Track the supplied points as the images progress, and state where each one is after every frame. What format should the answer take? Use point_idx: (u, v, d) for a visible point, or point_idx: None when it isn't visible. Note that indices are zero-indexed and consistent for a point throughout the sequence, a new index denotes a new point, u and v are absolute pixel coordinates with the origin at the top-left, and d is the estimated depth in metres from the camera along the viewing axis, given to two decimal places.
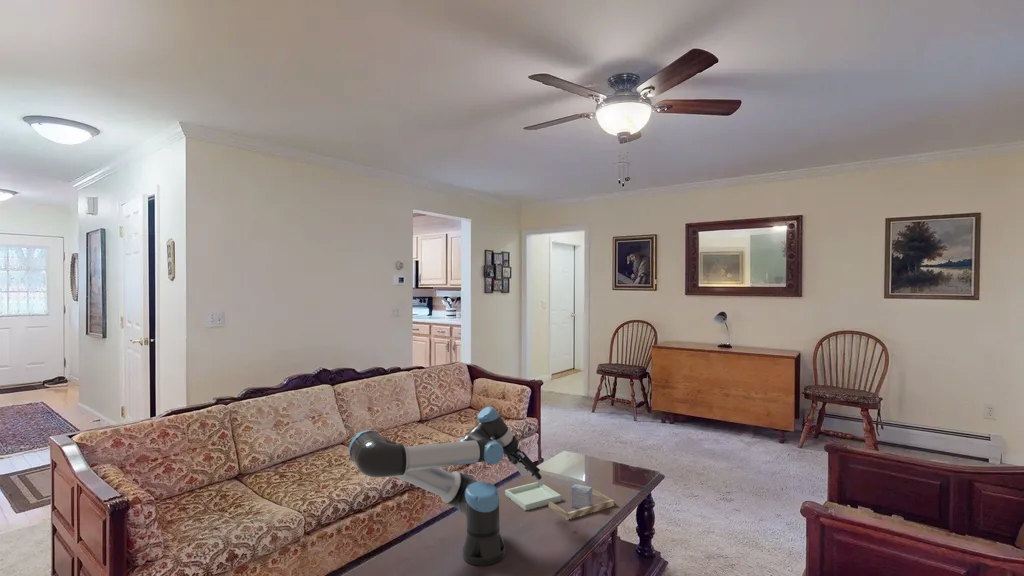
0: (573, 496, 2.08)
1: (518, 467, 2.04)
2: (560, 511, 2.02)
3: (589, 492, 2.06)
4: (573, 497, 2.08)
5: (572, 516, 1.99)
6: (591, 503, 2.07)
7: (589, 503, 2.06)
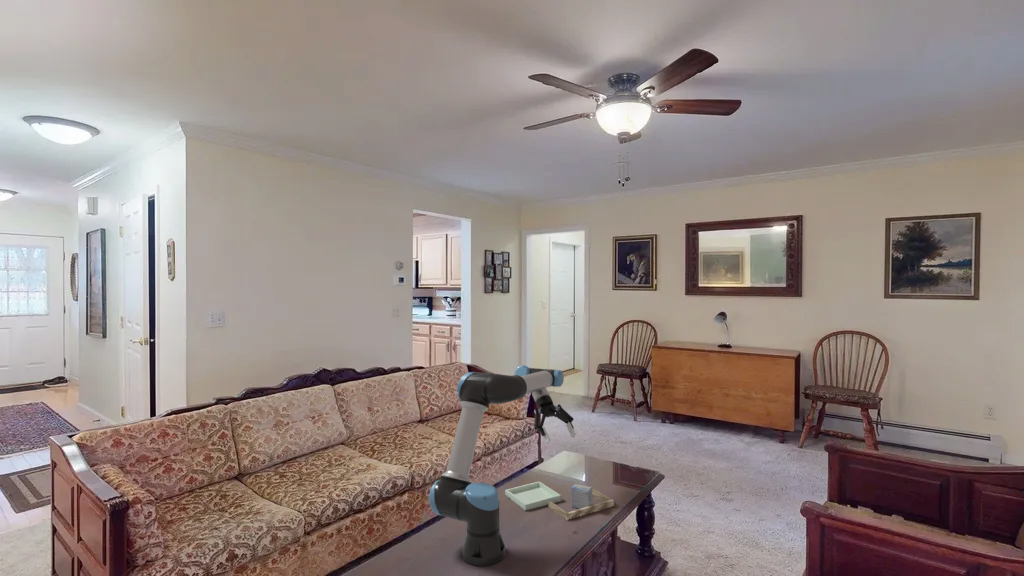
0: (573, 496, 2.08)
1: None
2: (560, 511, 2.02)
3: (589, 492, 2.06)
4: (573, 497, 2.08)
5: (572, 516, 1.99)
6: (591, 503, 2.07)
7: (589, 503, 2.06)
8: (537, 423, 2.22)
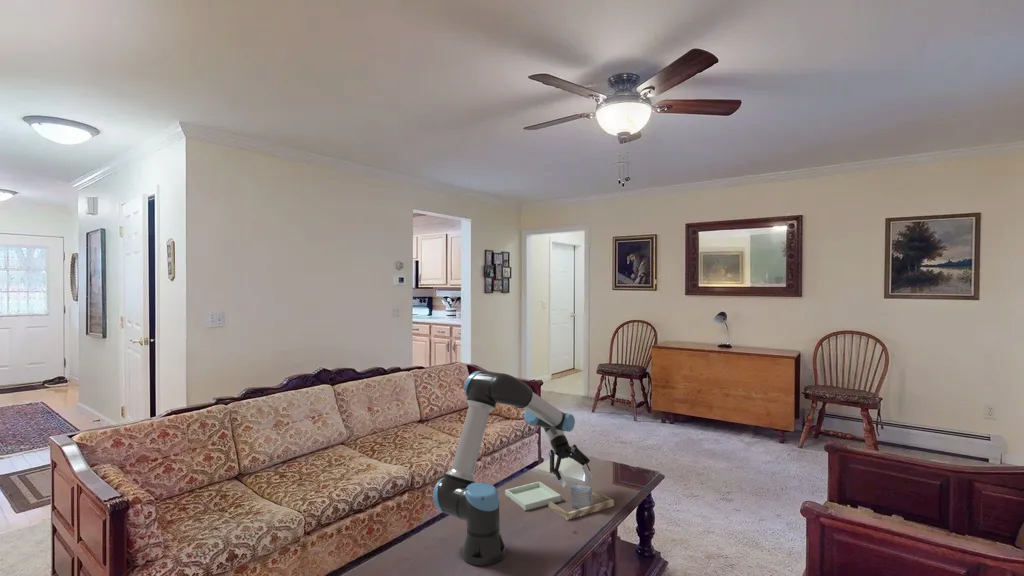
0: (573, 496, 2.08)
1: None
2: (560, 511, 2.02)
3: (589, 492, 2.06)
4: (573, 497, 2.08)
5: (572, 516, 1.99)
6: (591, 503, 2.07)
7: (589, 503, 2.06)
8: (553, 466, 2.13)
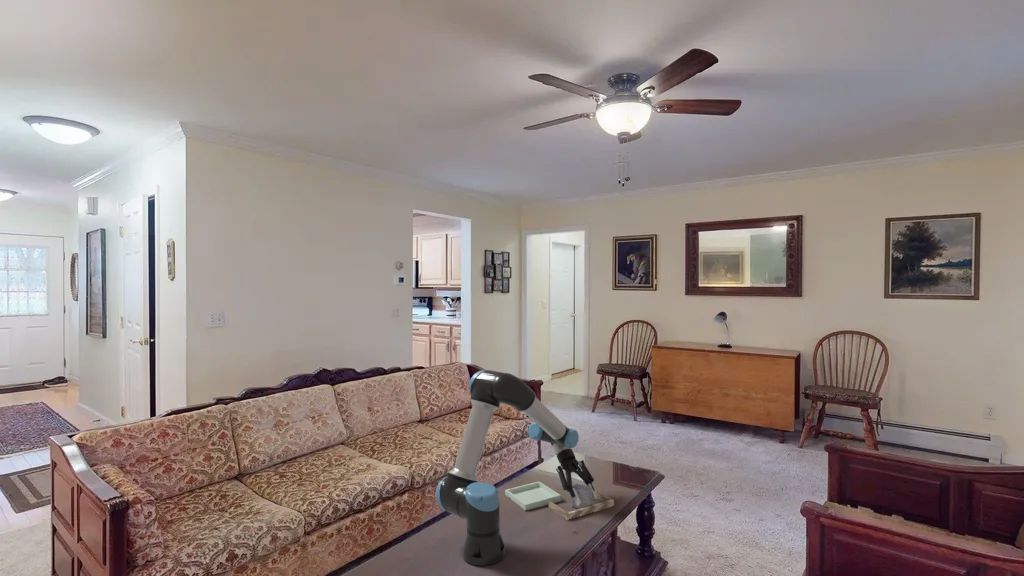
0: None
1: None
2: (560, 511, 2.02)
3: (589, 492, 2.06)
4: None
5: (572, 516, 1.99)
6: (591, 503, 2.07)
7: (589, 503, 2.06)
8: (566, 483, 2.07)
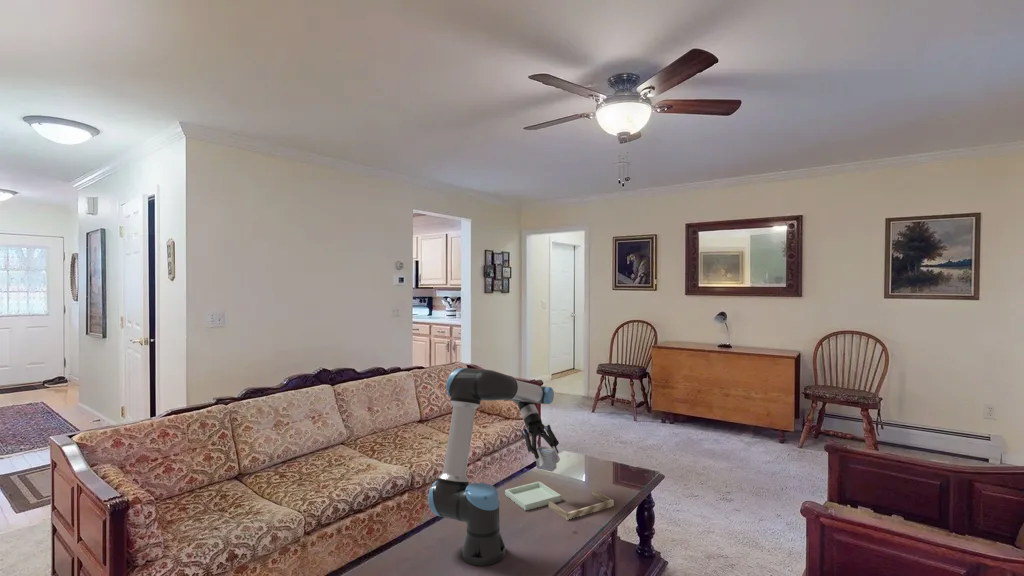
0: None
1: None
2: (560, 511, 2.02)
3: (552, 453, 2.14)
4: None
5: (572, 516, 1.99)
6: (554, 464, 2.15)
7: (552, 464, 2.14)
8: (530, 445, 2.16)
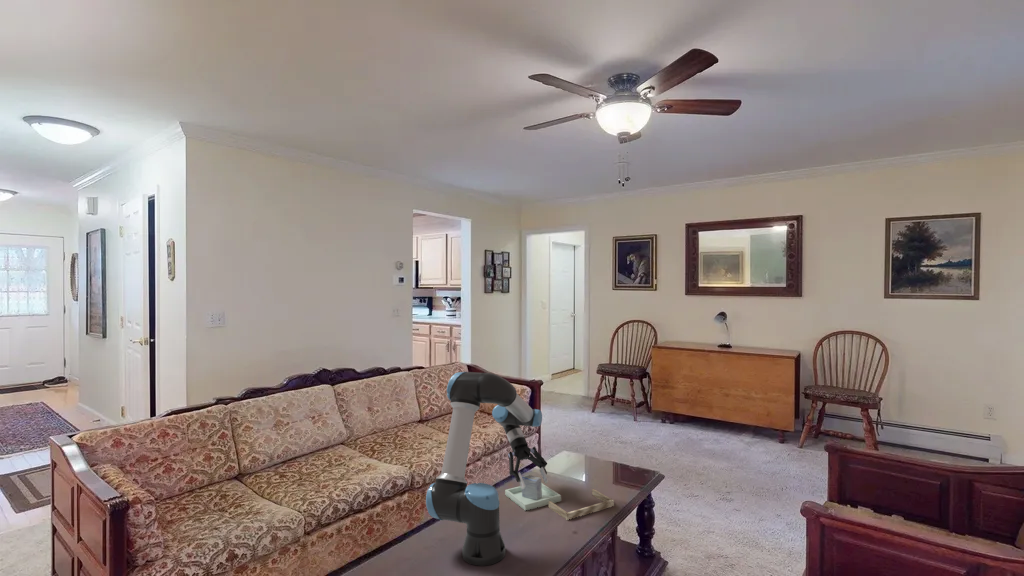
0: None
1: None
2: (560, 511, 2.02)
3: (537, 482, 2.16)
4: None
5: (572, 516, 1.99)
6: (540, 493, 2.17)
7: (537, 493, 2.16)
8: (512, 468, 2.18)
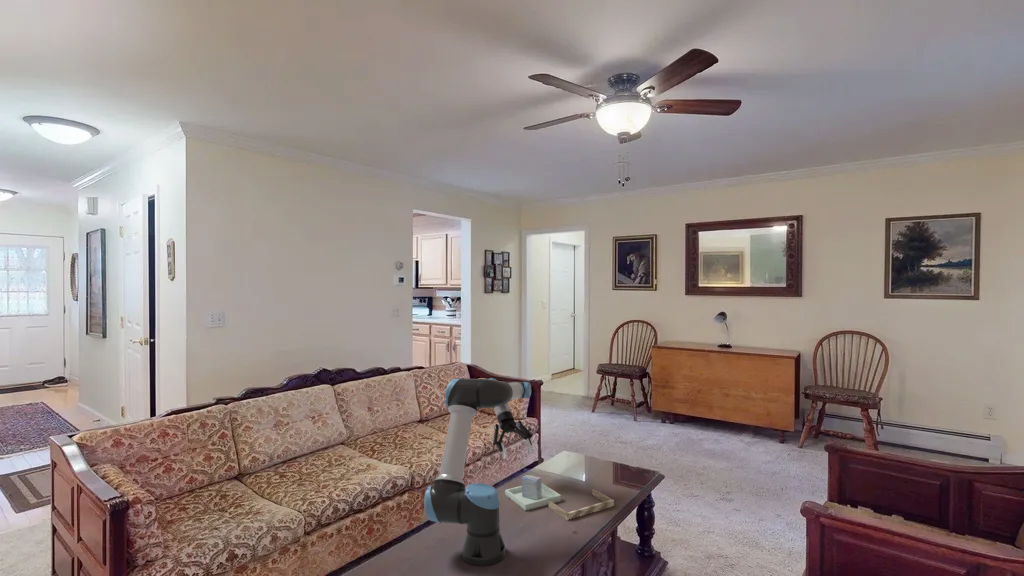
0: (523, 486, 2.19)
1: None
2: (560, 511, 2.02)
3: (537, 482, 2.16)
4: (523, 487, 2.19)
5: (572, 516, 1.99)
6: (540, 493, 2.17)
7: (537, 493, 2.16)
8: (496, 439, 2.29)
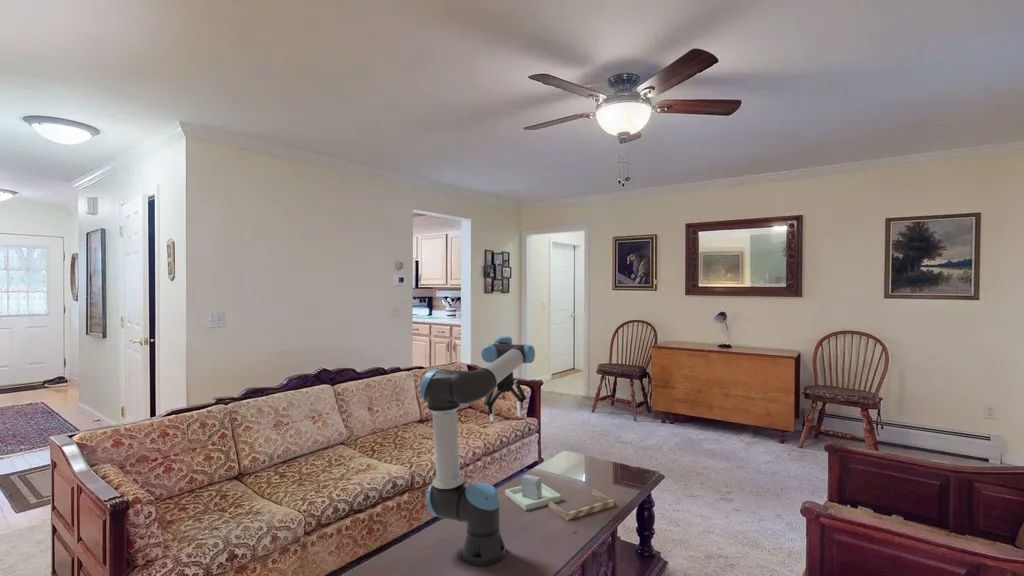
0: (523, 486, 2.19)
1: None
2: (560, 511, 2.02)
3: (537, 482, 2.16)
4: (523, 487, 2.19)
5: (572, 516, 1.99)
6: (540, 493, 2.17)
7: (537, 493, 2.16)
8: (488, 402, 2.17)
